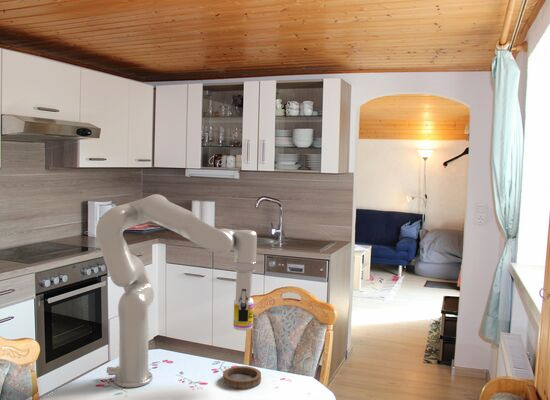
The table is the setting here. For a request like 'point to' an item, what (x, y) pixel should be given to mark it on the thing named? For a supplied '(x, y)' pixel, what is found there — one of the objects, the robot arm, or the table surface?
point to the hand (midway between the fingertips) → (243, 317)
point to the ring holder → (241, 377)
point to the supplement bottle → (249, 324)
